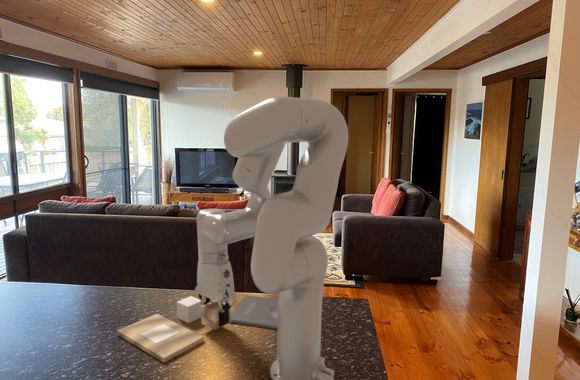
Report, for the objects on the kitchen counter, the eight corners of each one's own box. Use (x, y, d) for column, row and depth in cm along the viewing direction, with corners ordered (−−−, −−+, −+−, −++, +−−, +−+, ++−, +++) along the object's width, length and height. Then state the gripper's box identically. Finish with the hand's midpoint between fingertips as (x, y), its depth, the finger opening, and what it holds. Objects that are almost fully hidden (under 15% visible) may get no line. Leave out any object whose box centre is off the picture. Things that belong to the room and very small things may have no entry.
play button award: (246, 295, 128) (307, 302, 124) (246, 299, 129) (307, 307, 124) (225, 318, 113) (295, 328, 108) (225, 323, 113) (295, 333, 108)
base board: (203, 341, 103) (203, 336, 103) (163, 362, 94) (163, 357, 93) (157, 317, 115) (157, 313, 115) (117, 334, 106) (117, 330, 105)
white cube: (202, 317, 116) (202, 300, 115) (188, 323, 112) (188, 306, 111) (191, 311, 119) (190, 295, 118) (177, 318, 115) (176, 301, 114)
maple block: (230, 321, 109) (230, 304, 108) (215, 329, 105) (214, 311, 104) (217, 316, 112) (216, 299, 112) (201, 324, 108) (200, 306, 107)
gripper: (247, 258, 104) (249, 324, 106) (202, 247, 114) (205, 308, 117) (225, 265, 98) (228, 336, 100) (180, 254, 108) (184, 318, 111)
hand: (216, 320), depth 108 cm, fingers closed on maple block, 5 cm apart
